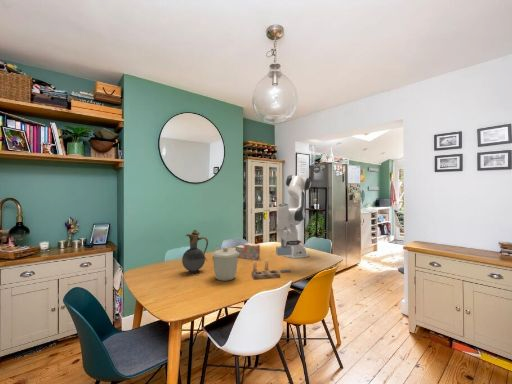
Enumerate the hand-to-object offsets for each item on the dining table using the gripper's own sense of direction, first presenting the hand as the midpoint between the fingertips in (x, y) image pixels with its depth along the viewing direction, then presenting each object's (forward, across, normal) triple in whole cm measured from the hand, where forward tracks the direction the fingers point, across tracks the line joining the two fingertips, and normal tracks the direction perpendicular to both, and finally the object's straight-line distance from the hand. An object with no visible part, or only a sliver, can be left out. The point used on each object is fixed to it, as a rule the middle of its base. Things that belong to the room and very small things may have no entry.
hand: (283, 245), depth 177 cm
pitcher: (+18, +10, +63) cm, 66 cm away
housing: (+7, 0, 0) cm, 7 cm away
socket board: (+18, -9, +16) cm, 26 cm away
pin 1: (+18, +4, +21) cm, 28 cm away
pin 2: (+18, +5, +12) cm, 23 cm away
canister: (+18, -7, +43) cm, 47 cm away
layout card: (+19, -2, 0) cm, 19 cm away
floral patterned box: (+19, +39, +21) cm, 48 cm away
